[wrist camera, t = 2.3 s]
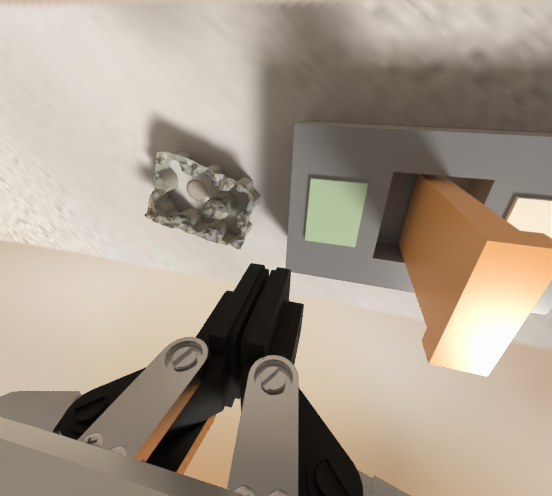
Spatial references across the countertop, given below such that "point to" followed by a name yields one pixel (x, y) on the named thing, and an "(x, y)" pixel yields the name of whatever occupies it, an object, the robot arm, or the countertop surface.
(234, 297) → the robot arm
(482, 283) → the breaker lever
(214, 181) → the egg carton
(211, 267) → the countertop surface
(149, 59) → the countertop surface
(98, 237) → the countertop surface
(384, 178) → the breaker box
